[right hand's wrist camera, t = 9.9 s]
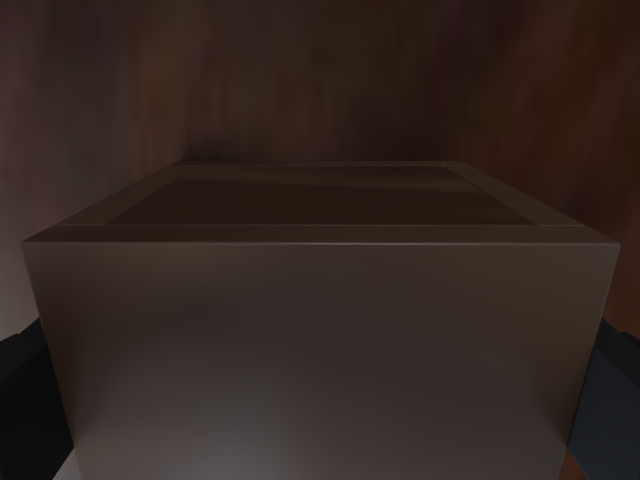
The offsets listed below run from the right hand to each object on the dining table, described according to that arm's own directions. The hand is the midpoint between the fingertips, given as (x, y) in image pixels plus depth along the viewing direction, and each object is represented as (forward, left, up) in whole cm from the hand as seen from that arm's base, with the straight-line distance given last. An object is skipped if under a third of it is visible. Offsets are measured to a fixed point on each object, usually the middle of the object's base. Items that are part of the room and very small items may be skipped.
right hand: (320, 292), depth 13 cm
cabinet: (+6, +4, -4) cm, 8 cm away
